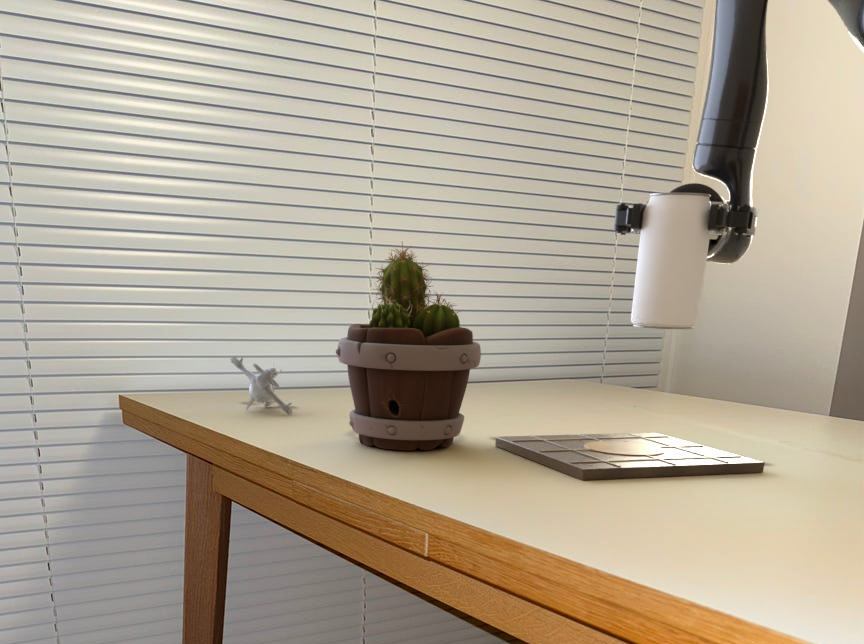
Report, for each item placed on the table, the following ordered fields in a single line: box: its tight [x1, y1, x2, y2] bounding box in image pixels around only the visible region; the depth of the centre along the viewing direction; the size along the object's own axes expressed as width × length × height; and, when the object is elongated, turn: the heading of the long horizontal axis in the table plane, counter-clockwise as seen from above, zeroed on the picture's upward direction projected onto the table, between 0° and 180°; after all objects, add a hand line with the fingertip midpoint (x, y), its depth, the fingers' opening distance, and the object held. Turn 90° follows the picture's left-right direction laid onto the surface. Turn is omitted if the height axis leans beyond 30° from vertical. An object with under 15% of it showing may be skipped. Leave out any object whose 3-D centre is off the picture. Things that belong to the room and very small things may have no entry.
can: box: [630, 192, 711, 330], centre depth 94 cm, size 6×6×12 cm
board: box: [494, 432, 765, 481], centre depth 97 cm, size 20×18×1 cm
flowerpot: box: [335, 242, 482, 451], centre depth 98 cm, size 14×15×20 cm
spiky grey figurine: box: [230, 355, 294, 415], centre depth 121 cm, size 10×6×9 cm
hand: (674, 216), depth 90 cm, fingers closed on can, 6 cm apart
